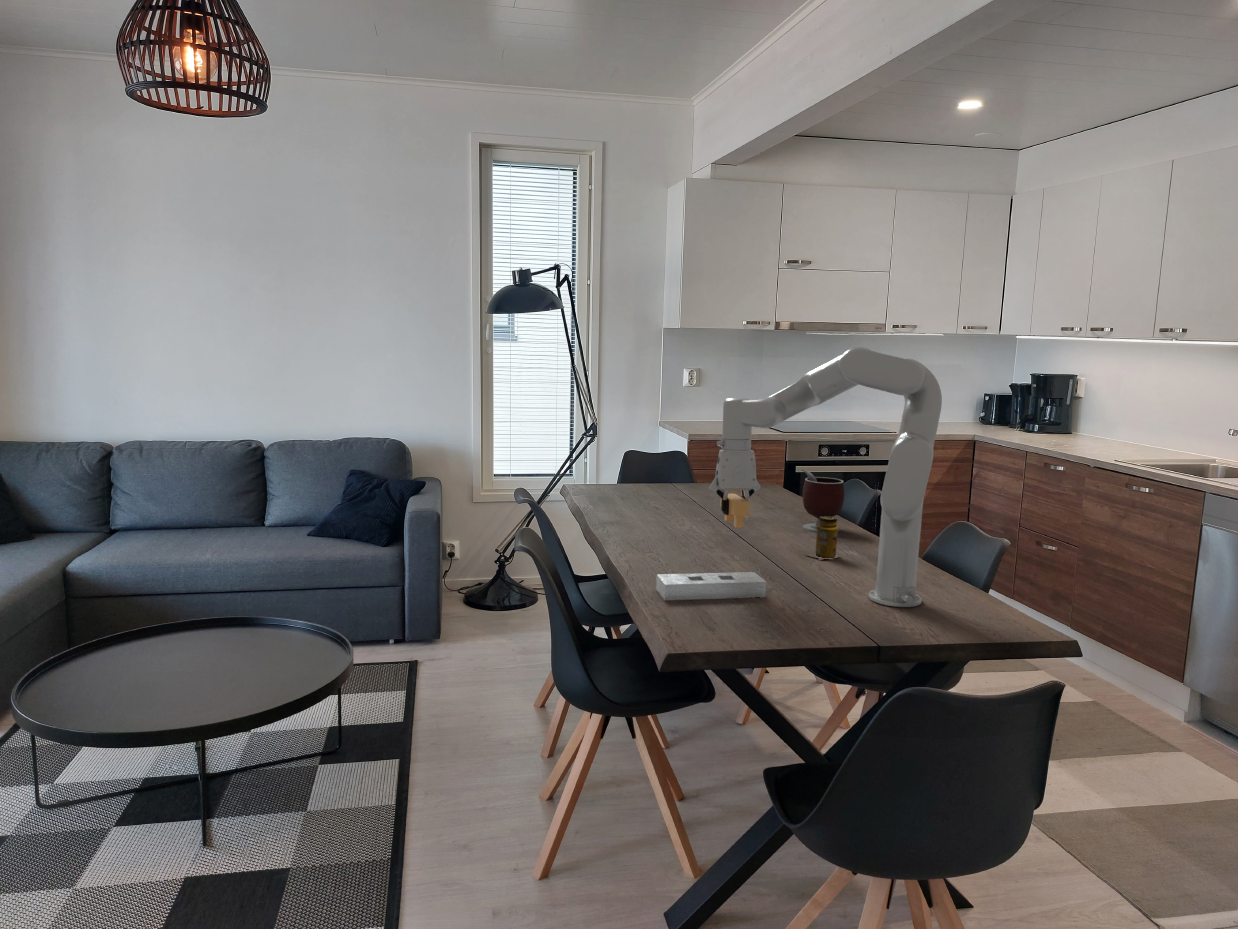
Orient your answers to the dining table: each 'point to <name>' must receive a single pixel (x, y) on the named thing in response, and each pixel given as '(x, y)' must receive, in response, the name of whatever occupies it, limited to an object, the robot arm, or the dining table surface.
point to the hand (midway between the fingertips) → (734, 513)
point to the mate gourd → (822, 497)
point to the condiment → (826, 537)
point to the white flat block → (710, 586)
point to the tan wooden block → (737, 510)
